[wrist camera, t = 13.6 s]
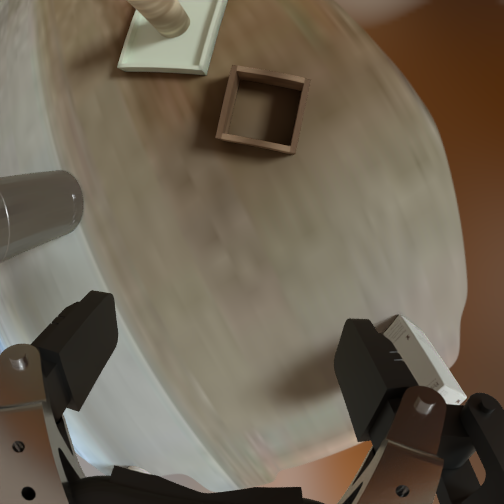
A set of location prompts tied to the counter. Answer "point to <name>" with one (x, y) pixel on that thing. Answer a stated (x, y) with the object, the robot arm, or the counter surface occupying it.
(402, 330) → the skincare box
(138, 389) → the counter surface
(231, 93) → the box
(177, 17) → the dowel
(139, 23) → the tray
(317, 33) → the counter surface
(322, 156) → the counter surface
